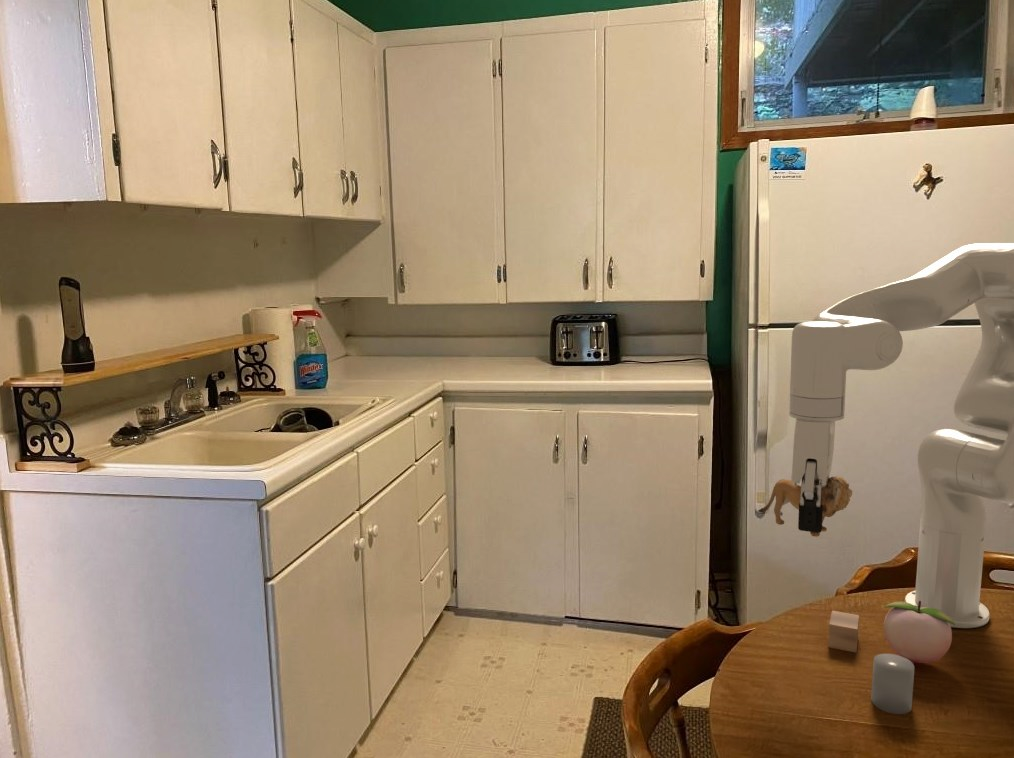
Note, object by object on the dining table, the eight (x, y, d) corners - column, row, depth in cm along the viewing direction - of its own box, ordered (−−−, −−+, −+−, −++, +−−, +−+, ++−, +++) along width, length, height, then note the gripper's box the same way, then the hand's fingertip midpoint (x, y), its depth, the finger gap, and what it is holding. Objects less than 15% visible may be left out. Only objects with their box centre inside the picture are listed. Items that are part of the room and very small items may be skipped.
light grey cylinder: (871, 689, 110) (874, 650, 109) (911, 698, 108) (914, 658, 107) (870, 708, 105) (873, 668, 104) (911, 717, 103) (914, 676, 102)
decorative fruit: (881, 671, 114) (885, 608, 113) (880, 645, 122) (884, 585, 120) (954, 685, 110) (959, 619, 109) (949, 657, 118) (953, 595, 116)
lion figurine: (856, 534, 114) (859, 476, 113) (838, 544, 111) (841, 483, 109) (766, 511, 125) (768, 457, 124) (748, 518, 122) (749, 463, 120)
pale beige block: (831, 633, 126) (832, 610, 125) (857, 638, 124) (859, 615, 123) (828, 647, 122) (829, 624, 121) (856, 653, 120) (857, 629, 119)
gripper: (796, 394, 122) (792, 502, 125) (781, 417, 107) (778, 539, 110) (848, 396, 119) (843, 508, 122) (840, 421, 104) (834, 547, 107)
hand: (812, 522), depth 116 cm, fingers closed on lion figurine, 6 cm apart
